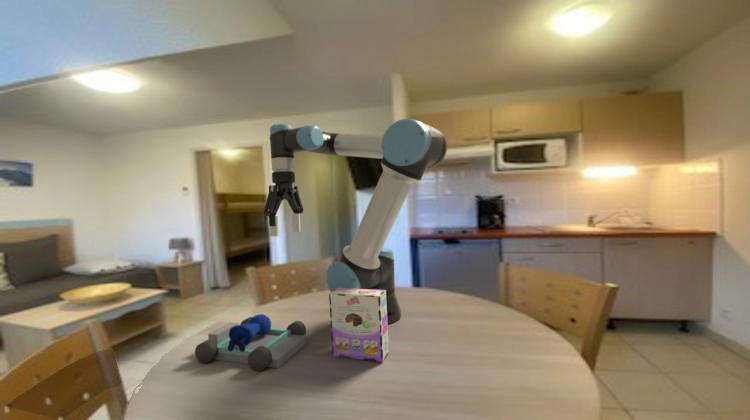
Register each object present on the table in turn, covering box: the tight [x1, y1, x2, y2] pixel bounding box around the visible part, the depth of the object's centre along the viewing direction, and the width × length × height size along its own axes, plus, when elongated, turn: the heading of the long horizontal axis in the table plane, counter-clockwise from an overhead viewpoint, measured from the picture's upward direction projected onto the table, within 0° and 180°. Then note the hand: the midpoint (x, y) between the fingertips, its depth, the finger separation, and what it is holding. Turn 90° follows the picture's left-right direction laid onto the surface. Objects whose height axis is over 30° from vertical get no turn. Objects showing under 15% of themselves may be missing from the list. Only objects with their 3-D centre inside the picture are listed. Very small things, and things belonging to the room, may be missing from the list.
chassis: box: [194, 316, 308, 372], centre depth 88 cm, size 24×19×5 cm
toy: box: [228, 313, 272, 352], centre depth 87 cm, size 7×6×15 cm
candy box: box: [328, 288, 390, 363], centre depth 83 cm, size 14×6×16 cm, turn 71°
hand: (286, 233), depth 111 cm, fingers open, 13 cm apart
